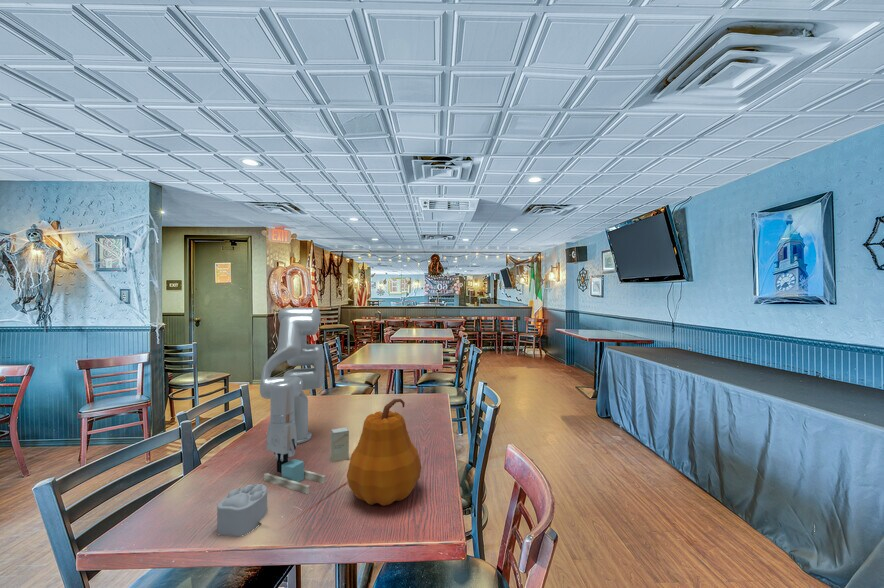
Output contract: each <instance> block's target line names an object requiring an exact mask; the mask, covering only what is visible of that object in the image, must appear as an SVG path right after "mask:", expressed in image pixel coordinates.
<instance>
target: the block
mask: <svg viewBox="0 0 884 588" xmlns="http://www.w3.org/2000/svg"><path fill="white" fill-rule="evenodd" d="M304 470H305V461H303V460H299V459H296V458H293V459H291V460H288V462H286V463H284V464H282V473H281V477H282V478H286V479H289V480H292V481H296V482H299V483H301V482H302V481H304V480H305V478H304Z"/></svg>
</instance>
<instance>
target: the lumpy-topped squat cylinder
mask: <svg viewBox="0 0 884 588" xmlns="http://www.w3.org/2000/svg"><path fill="white" fill-rule="evenodd" d="M216 507H217V508H216V510H217V512H216V516H217V517H216V522H217V523H216V534H217V533H218V534H220V535H219V536H229V535H230V537H233V536H235V538H239V537H238V536H241V537H243V536H242V535H244V536H246V535H245V534H247V533H249V532H250V533H252V532H253V531H254V530H255V529H257V528H258V527H259V526H260V525H262V522H260V521H261V520H263V518H265V516H266V515H267V513H268V488H267V486H266V485H265V484H262V483H261V484H260V483H255V484H252V483H251V484H247V485H245V486H244V487H241V488H234V489H231V490H230V491H229V492H228V494H227V496H225V497H224V498H223V499H222V500H221V501H219V502H218V503H217V505H216ZM258 525H259V526H258ZM257 526H258V527H257ZM256 527H257V528H256ZM253 529H254V530H253ZM252 530H253V531H252ZM251 531H252V532H251ZM250 533H249V534H250ZM218 534H217V535H218ZM247 535H248V534H247Z"/></svg>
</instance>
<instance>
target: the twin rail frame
mask: <svg viewBox="0 0 884 588" xmlns="http://www.w3.org/2000/svg"><path fill="white" fill-rule="evenodd" d="M305 479H306V480H309V481H312V482H316V483H319V484H325V483H327V481H326V479H327V477H326V474H325V475H324V474H322V473H321V474H320V473H318V472H313V471H310V470H306V469H304V480H305ZM263 481H264V482H267V483H270V484H272V485H275V486H279V487H283V488H285V489H288V490H293V491H295V492H299V493H302V494H304V495H305V494H306V495H309V494H310V493H311V485H310V484H306V483H304V482H303V483H302V482H296V481H292V480H289V479H286V478H282V476H278V475H275V474H271V473H269V472H265V473H264V474H263Z"/></svg>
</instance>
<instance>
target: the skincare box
mask: <svg viewBox="0 0 884 588" xmlns="http://www.w3.org/2000/svg"><path fill="white" fill-rule="evenodd" d="M349 440H350V430H349V428H348V427H347V426H346V427H339V428H333V429H330V460H331V462H332V463H336V462H342V461H347V462H348V461H349V462H350V459H349V458H350V457H349V456H350V455H349V451H350V449H349V447H350V442H349Z"/></svg>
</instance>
